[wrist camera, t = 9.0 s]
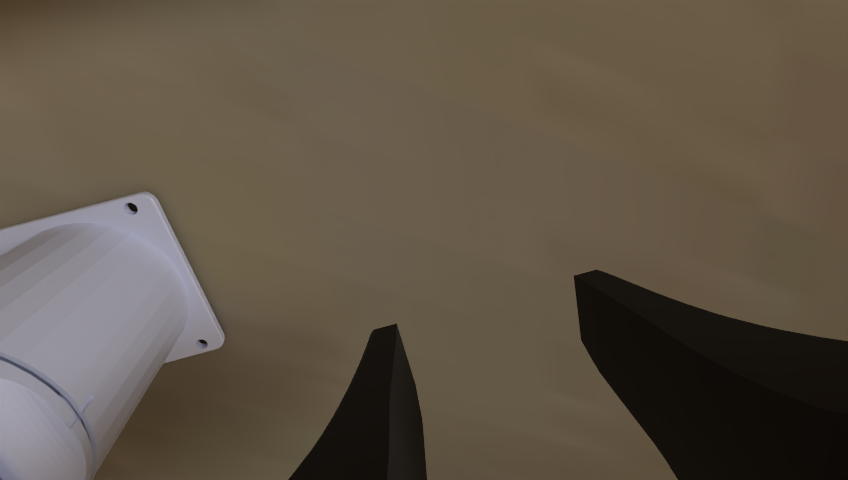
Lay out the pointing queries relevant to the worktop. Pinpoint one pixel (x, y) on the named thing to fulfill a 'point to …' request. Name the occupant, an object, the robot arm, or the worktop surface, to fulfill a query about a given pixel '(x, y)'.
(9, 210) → the worktop surface
